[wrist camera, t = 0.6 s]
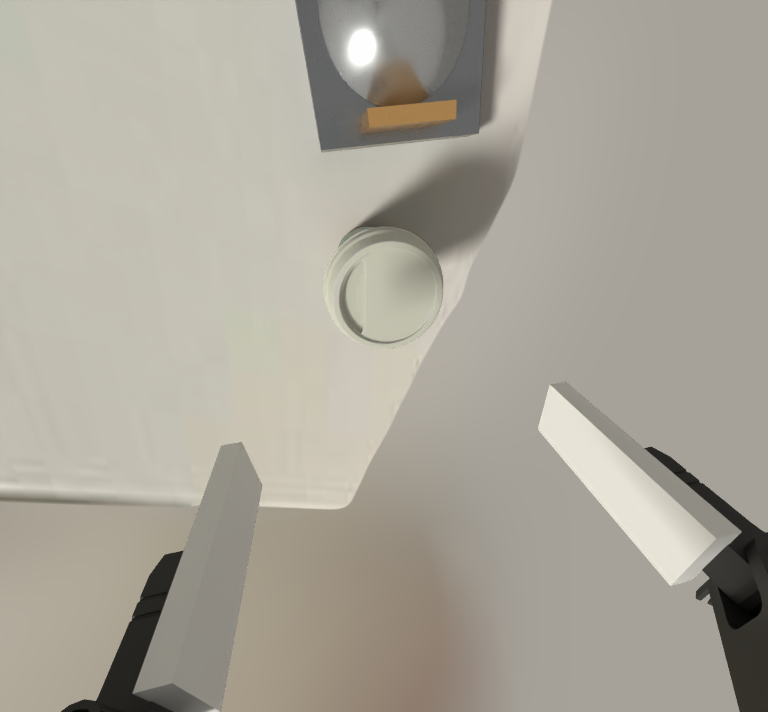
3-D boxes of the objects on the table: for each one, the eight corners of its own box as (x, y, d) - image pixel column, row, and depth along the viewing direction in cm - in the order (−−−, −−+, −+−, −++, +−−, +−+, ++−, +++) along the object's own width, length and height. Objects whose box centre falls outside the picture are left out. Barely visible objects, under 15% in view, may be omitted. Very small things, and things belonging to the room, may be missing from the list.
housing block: (271, -136, 18) (252, -260, 13) (476, -138, 19) (532, -253, 14) (321, 152, 25) (321, 146, 20) (466, 136, 26) (500, 127, 21)
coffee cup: (352, 189, 27) (372, 198, 17) (424, 245, 30) (476, 280, 20) (306, 271, 30) (298, 320, 20) (377, 312, 33) (401, 373, 23)
